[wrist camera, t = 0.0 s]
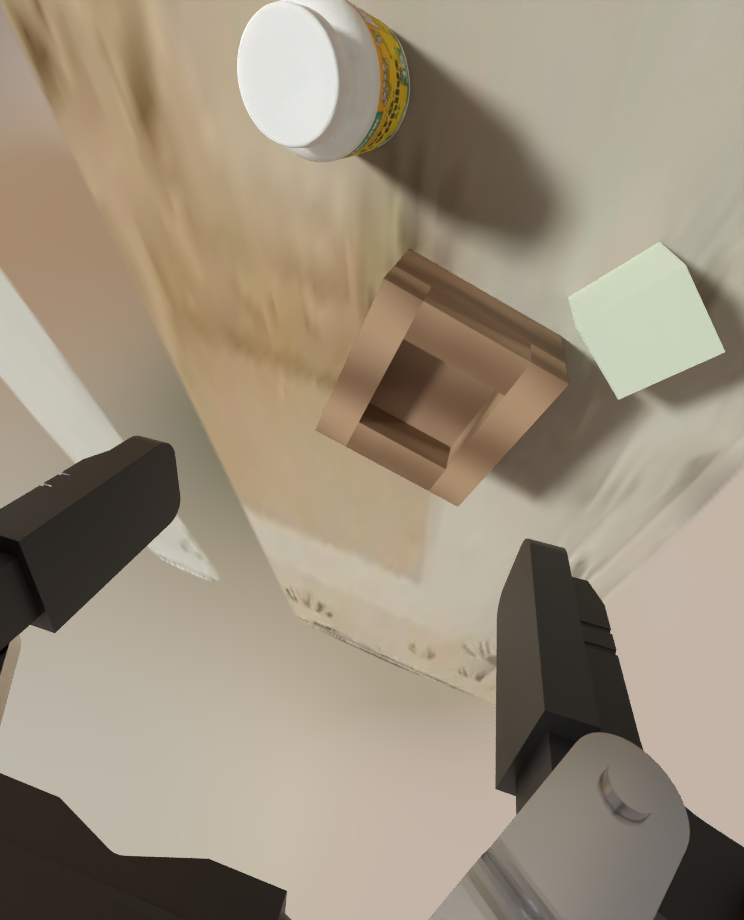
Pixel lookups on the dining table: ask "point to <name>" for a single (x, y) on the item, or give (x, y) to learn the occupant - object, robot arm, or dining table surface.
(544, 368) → the brown open box
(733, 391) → the dining table surface
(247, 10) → the dining table surface
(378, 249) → the dining table surface
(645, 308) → the green cube
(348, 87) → the supplement bottle
